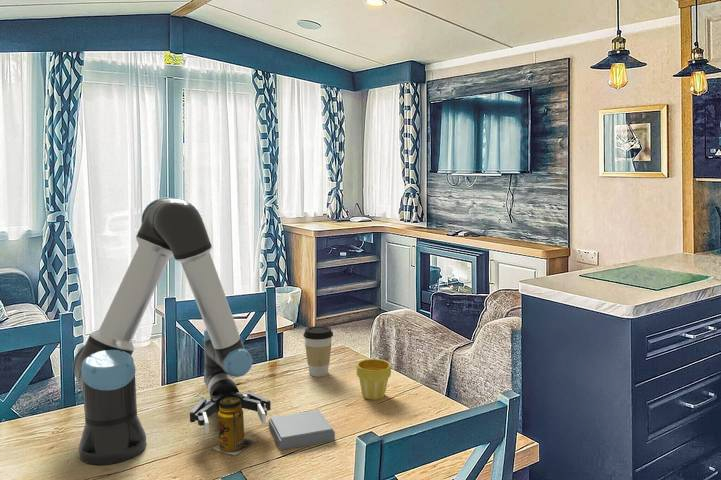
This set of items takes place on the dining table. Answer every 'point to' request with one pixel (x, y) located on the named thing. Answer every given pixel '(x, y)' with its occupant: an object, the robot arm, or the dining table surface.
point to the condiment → (231, 427)
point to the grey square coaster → (300, 429)
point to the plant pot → (373, 377)
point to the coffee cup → (318, 349)
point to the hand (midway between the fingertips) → (236, 423)
